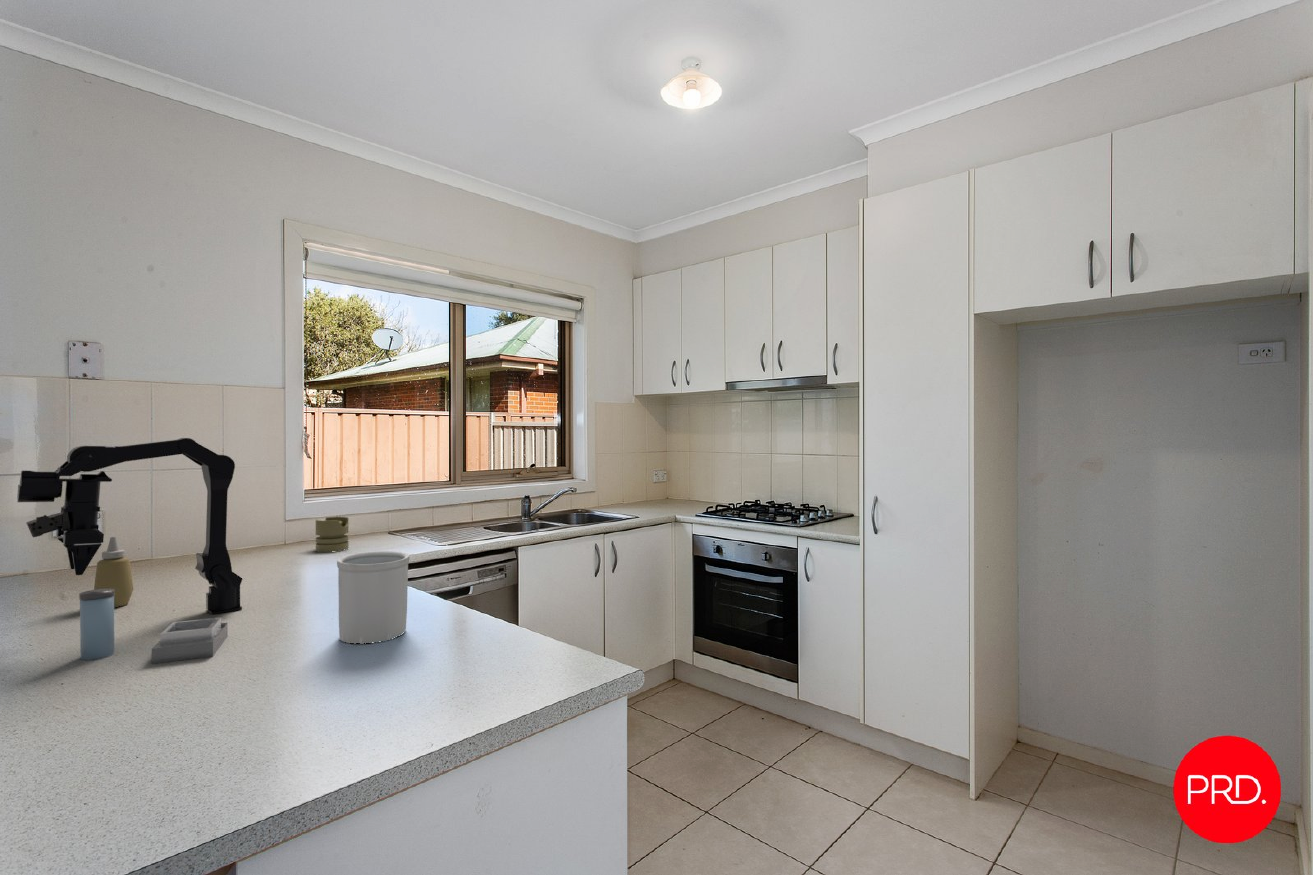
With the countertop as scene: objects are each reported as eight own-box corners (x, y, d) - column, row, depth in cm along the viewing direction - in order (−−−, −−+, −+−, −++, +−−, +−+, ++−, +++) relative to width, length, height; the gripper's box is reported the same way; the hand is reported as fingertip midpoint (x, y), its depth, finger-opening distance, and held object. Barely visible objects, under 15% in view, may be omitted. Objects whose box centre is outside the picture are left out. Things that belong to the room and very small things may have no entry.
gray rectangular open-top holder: (172, 642, 136) (172, 619, 136) (227, 636, 140) (227, 613, 140) (151, 663, 124) (151, 638, 123) (213, 656, 128) (212, 631, 128)
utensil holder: (423, 629, 145) (423, 553, 145) (370, 649, 132) (369, 566, 131) (377, 621, 151) (377, 548, 151) (321, 640, 138) (321, 560, 138)
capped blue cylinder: (98, 650, 131) (98, 588, 131) (122, 651, 131) (121, 588, 131) (72, 659, 126) (71, 594, 126) (96, 660, 125) (96, 595, 125)
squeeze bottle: (141, 603, 168) (140, 535, 167) (106, 611, 160) (105, 540, 160) (120, 600, 170) (120, 534, 170) (85, 608, 163) (85, 538, 162)
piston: (354, 517, 249) (335, 521, 237) (354, 547, 249) (335, 552, 238) (328, 516, 250) (308, 520, 239) (329, 546, 251) (308, 552, 239)
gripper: (28, 499, 141) (22, 569, 141) (34, 505, 129) (28, 582, 128) (94, 498, 149) (89, 564, 149) (106, 504, 137) (101, 577, 136)
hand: (76, 571), depth 140 cm, fingers open, 9 cm apart
